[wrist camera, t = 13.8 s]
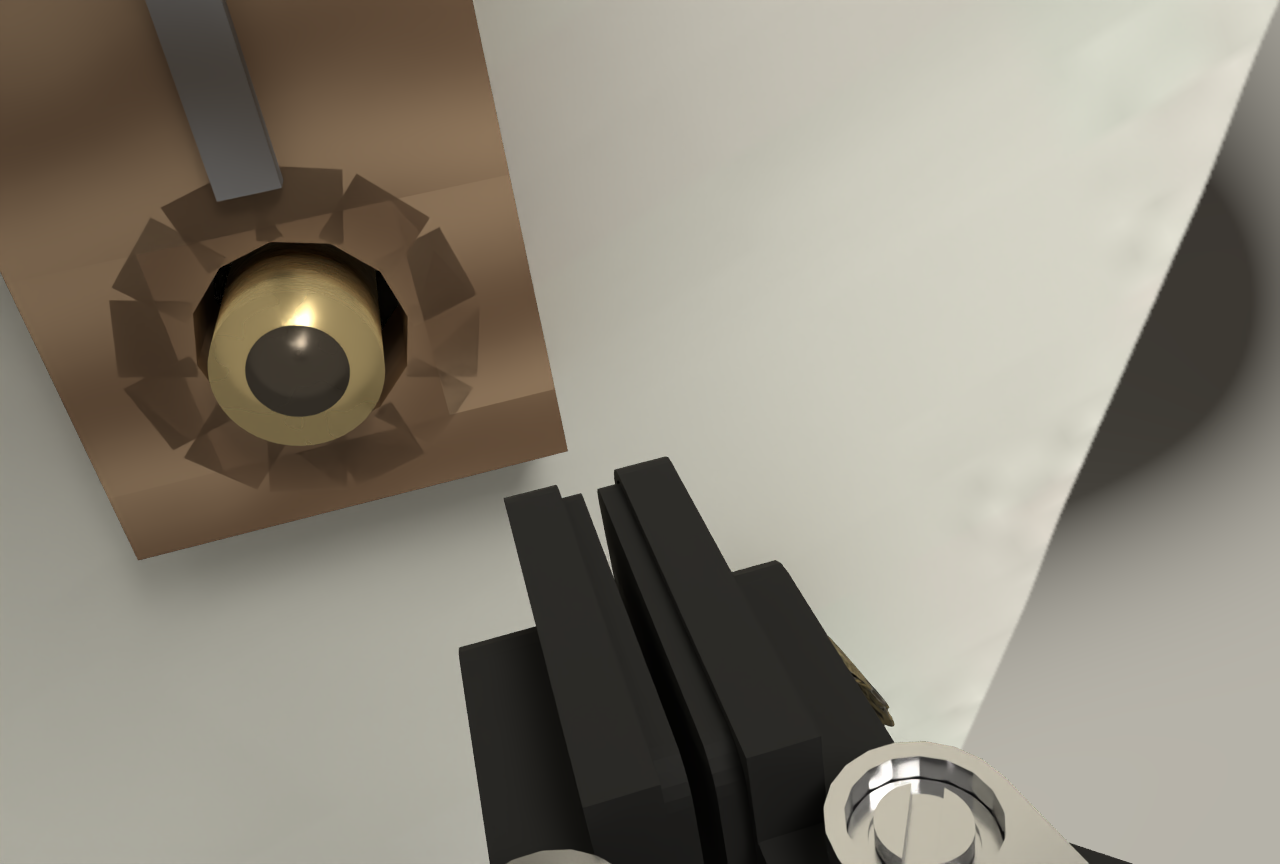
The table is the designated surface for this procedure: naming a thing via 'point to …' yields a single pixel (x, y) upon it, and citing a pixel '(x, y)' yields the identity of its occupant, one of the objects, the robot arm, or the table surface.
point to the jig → (263, 241)
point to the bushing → (298, 343)
